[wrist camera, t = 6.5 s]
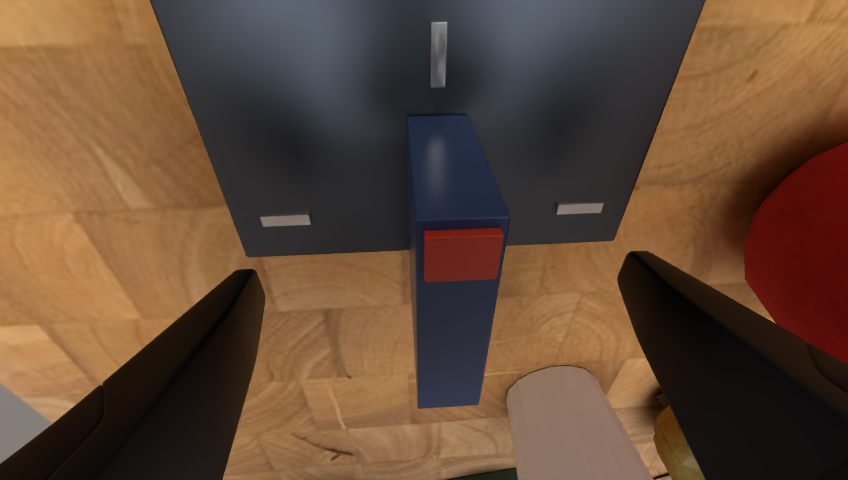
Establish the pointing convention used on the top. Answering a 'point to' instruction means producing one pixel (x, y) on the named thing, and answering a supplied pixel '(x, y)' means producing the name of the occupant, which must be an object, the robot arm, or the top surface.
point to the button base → (494, 476)
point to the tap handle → (452, 257)
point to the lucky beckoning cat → (674, 446)
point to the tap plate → (422, 108)
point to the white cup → (569, 429)
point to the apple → (805, 252)
